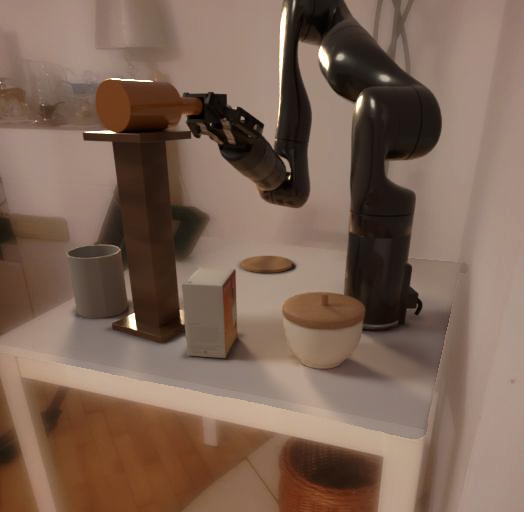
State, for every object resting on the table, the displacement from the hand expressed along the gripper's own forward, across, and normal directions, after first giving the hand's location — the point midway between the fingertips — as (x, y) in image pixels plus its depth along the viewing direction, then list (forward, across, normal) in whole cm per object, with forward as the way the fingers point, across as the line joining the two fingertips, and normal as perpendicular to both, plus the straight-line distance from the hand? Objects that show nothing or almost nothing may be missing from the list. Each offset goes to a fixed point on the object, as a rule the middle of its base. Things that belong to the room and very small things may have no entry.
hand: (196, 98), depth 73 cm
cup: (-5, -13, +34) cm, 37 cm away
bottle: (+5, 0, +8) cm, 9 cm away
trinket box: (-7, +27, +33) cm, 43 cm away
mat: (-36, -1, +16) cm, 40 cm away
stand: (-5, 0, +34) cm, 35 cm away
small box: (-3, +12, +35) cm, 38 cm away
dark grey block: (-3, 0, 0) cm, 3 cm away
